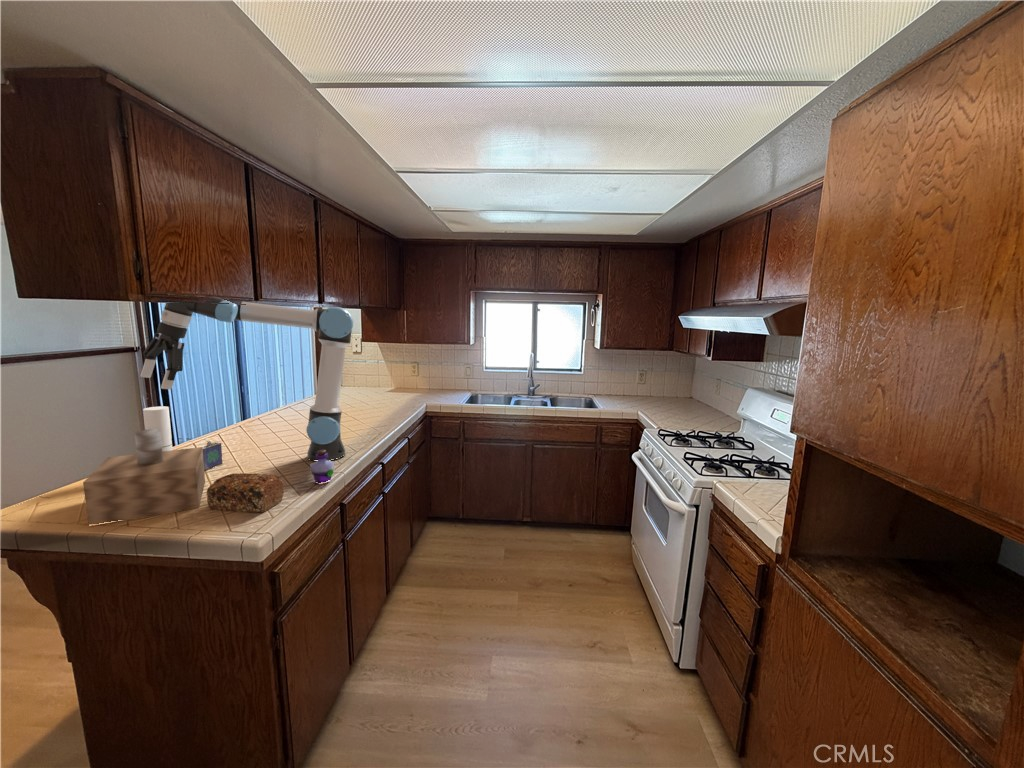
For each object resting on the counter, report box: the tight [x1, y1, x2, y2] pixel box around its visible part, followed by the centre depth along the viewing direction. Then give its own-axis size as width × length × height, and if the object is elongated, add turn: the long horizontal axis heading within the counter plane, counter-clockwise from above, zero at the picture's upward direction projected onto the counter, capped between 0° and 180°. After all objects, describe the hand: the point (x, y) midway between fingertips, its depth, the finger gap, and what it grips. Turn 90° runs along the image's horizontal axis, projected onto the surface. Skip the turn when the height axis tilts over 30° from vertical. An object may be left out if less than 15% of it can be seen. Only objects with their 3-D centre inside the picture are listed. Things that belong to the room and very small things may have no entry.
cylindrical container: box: [142, 405, 174, 451], centre depth 149 cm, size 7×7×25 cm
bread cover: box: [82, 429, 206, 525], centre depth 126 cm, size 24×24×23 cm
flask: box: [201, 440, 223, 472], centre depth 158 cm, size 9×3×11 cm, turn 172°
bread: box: [206, 472, 285, 514], centre depth 126 cm, size 19×11×10 cm, turn 84°
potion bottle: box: [309, 450, 335, 483], centre depth 146 cm, size 9×9×12 cm
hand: (155, 382), depth 138 cm, fingers open, 13 cm apart
